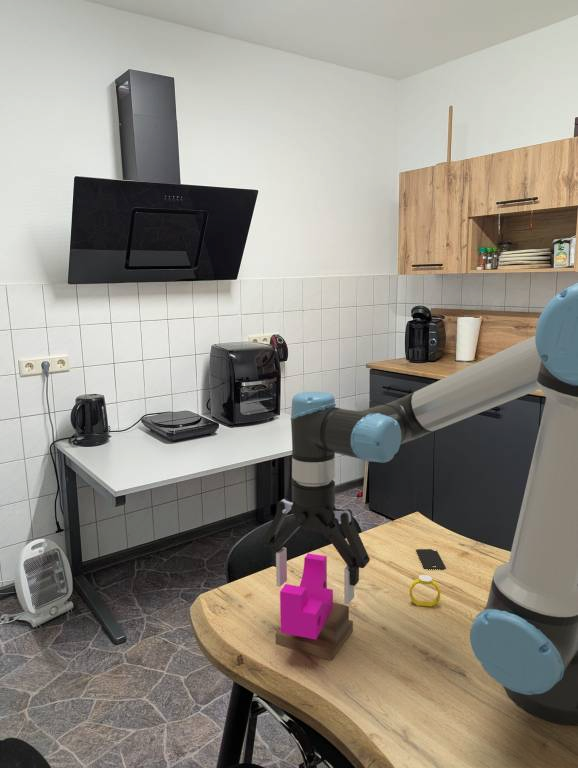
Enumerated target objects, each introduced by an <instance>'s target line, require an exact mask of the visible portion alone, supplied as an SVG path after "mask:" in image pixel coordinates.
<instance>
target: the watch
mask: <svg viewBox="0 0 578 768" xmlns="http://www.w3.org/2000/svg"><path fill="white" fill-rule="evenodd" d="M418 584H423V585H432V586H434V587H435V589H436V590H437V595H436V597H435V599H434V600H432V601H419V600H417V599H416V598H415V597H414V595H413V588H414V587H415V586H416V585H418ZM440 589H441V588H440V586H439V584H438V583H437V582H436V580H433V577H432V576H430V575H427V574H420V575H419V576H418V578H416V579H414V580H413V581H412V582H411V584H410V586H409V592H408V593H409V597H410V599H411V601H412V603H413V604H414V605H415V606H417V607H419V606H420V607H429V608H432V607H434V606H436V605H437V604H438V603H439V600H440V599H441V590H440Z"/></svg>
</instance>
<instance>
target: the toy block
mask: <svg viewBox="0 0 578 768" xmlns="http://www.w3.org/2000/svg"><path fill="white" fill-rule="evenodd" d="M303 559H304V562H303V570H302V571H303V572H302V577H301V580H300V584H299V585H293V584H288V583H287V584H286V583H284V584H283V585H284V586H283V587H282V589H280V591H279V602H280V603H279V605H280V607H279V609H280V611H279V612H280V614H279V615H280V628H281V633H285V634H290V635H295V636H300V637H306V638H311V639H317V637H318V635H319V633H320V631H321V629H322V627H323V625H324V623H325V622H326V620H327V618H328V616H329V614H330V612H331V610H332V608H333V602H334V594H333V593H334V589H332V588H327V587H328V583H327V582H328V581H327V580H328V579H327V578H328V575H327V574H328V573H327V572H328V571H327V570H328V567H327V565H328V563H327V559H328V556H327V555H322V554H315V553H308V552H307V554H306V555H305V557H304V558H303Z"/></svg>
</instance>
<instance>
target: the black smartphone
mask: <svg viewBox="0 0 578 768" xmlns="http://www.w3.org/2000/svg"><path fill="white" fill-rule="evenodd" d="M434 550H435V549H434ZM434 550H433V549H432V548H417V549H416V550H415V553H416V552H417V553H416V554H418V555H417V556H419V557H418V560H419V561H421V562H420V564H421V563H422V564H421V566H422V565H423V566H422V568H423V570H424V569H428V570H427V571H445V570H447V567H446V565H445V563H444V561H443V559H442V558H441V556H440V554H439V552H438V550H436V551H434ZM435 566H436V567H435ZM429 569H430V570H429ZM431 569H432V570H431ZM433 569H434V570H433ZM435 569H436V570H435ZM437 569H438V570H437ZM439 569H440V570H439ZM444 569H445V570H444Z"/></svg>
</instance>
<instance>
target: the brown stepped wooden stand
mask: <svg viewBox="0 0 578 768" xmlns="http://www.w3.org/2000/svg"><path fill="white" fill-rule="evenodd" d="M353 631H354V621H353V620H352V619H350V605H347V604H341V603H337V602H334V601H333V608H332V610H331V612H330V614H329V616H328V618H327V620H326V622H325V623H324V625H323V627H322V629H321V631H320V633H319V635H318V637H317V639H311V638H306V637H300V636H295V635H290V634H285V633H281V627H280V628H279V629H277V631H276V632H275V644H276V645H278V646H283V647H286V648H289V649H292V650H296V651H299V652H302V653H305V654H308V655H312V656H314V657H318V658H321V659H324V660H328V661H332V660H333V659H334V657H335V656H336V654H337V653H339V650H340V649H341V647H343V645H344V643H346V641H347V640H348V638H349V637H350V635H351V634H352V633H353Z"/></svg>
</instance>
